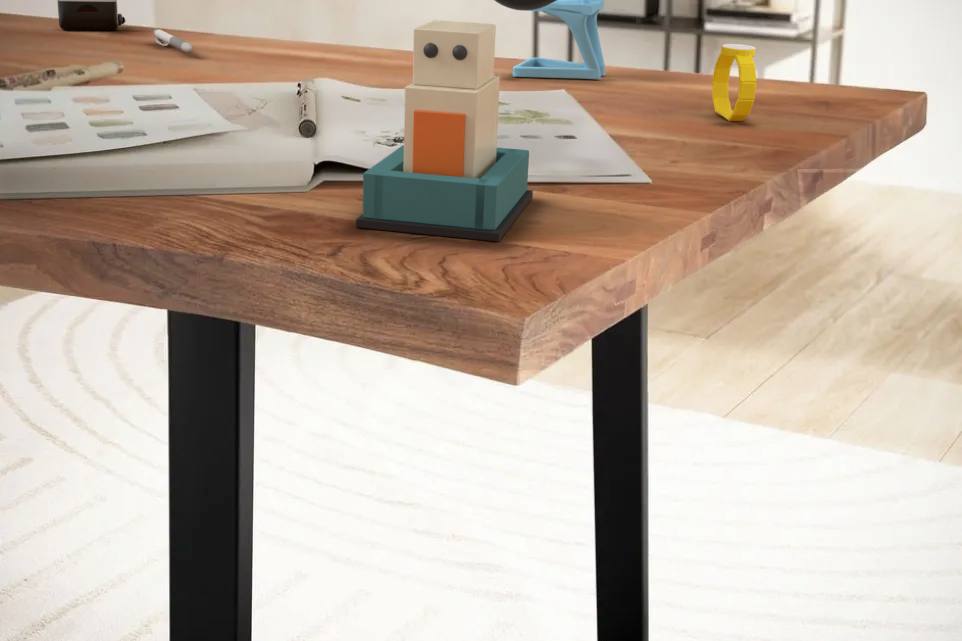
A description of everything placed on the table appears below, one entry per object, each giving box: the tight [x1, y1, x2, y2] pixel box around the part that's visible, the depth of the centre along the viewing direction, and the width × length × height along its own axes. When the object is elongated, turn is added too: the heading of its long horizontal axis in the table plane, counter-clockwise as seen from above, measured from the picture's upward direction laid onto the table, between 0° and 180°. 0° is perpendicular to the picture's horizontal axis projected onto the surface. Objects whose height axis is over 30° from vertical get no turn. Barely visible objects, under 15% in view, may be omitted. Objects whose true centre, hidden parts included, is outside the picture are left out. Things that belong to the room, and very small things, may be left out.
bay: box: [355, 144, 534, 243], centre depth 70 cm, size 10×8×3 cm
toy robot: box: [403, 19, 501, 179], centre depth 69 cm, size 6×4×10 cm, turn 168°
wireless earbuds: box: [56, 0, 127, 32], centre depth 139 cm, size 5×7×3 cm, turn 105°
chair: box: [512, 0, 606, 80], centre depth 119 cm, size 8×8×12 cm
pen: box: [152, 28, 194, 53], centre depth 127 cm, size 1×14×1 cm, turn 28°
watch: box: [711, 43, 757, 122], centre depth 102 cm, size 6×3×6 cm, turn 12°
